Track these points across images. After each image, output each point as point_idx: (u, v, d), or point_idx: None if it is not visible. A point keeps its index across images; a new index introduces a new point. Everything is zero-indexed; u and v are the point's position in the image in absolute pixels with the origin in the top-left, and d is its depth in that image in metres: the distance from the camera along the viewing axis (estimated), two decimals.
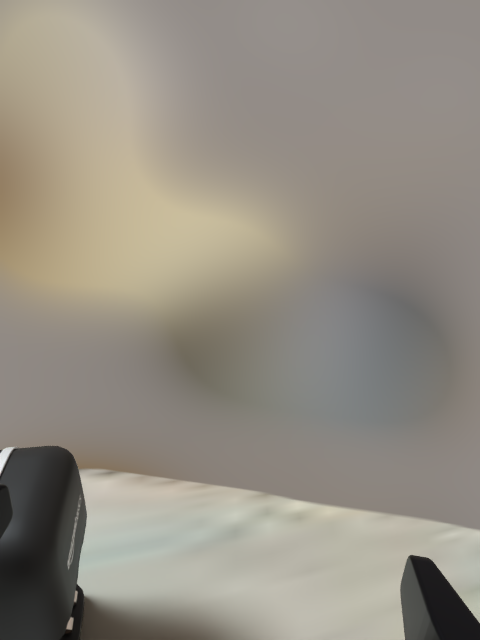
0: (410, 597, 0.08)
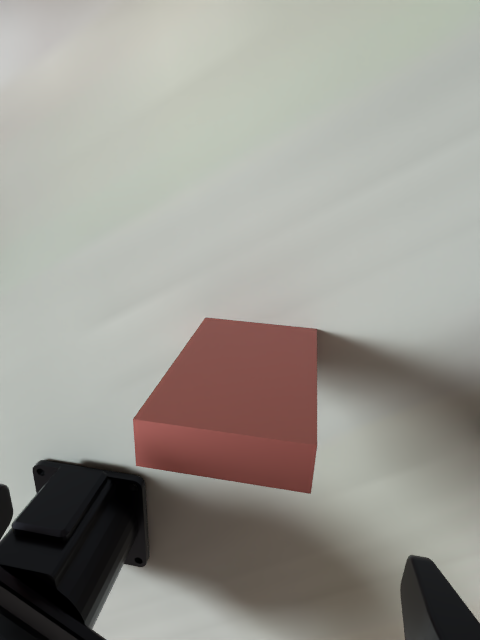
0: (410, 597, 0.08)
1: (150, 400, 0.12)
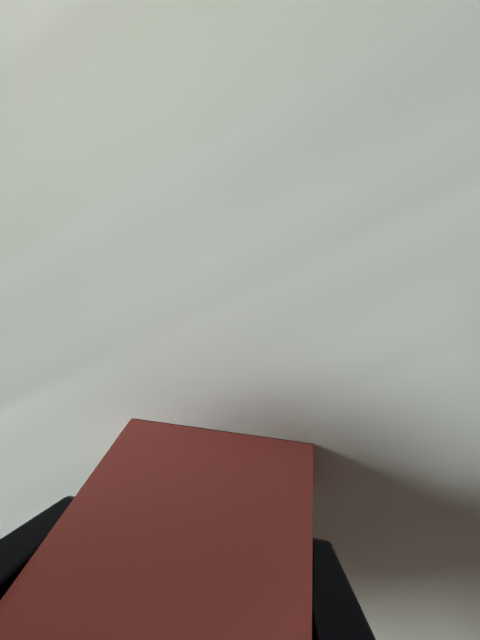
0: None
1: None
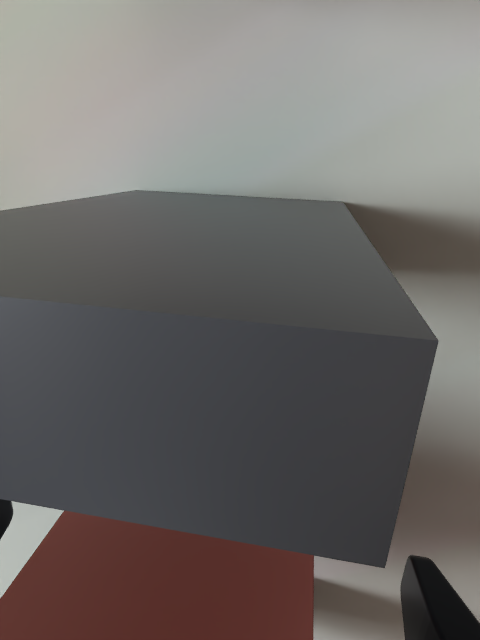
0: (410, 597, 0.08)
1: None
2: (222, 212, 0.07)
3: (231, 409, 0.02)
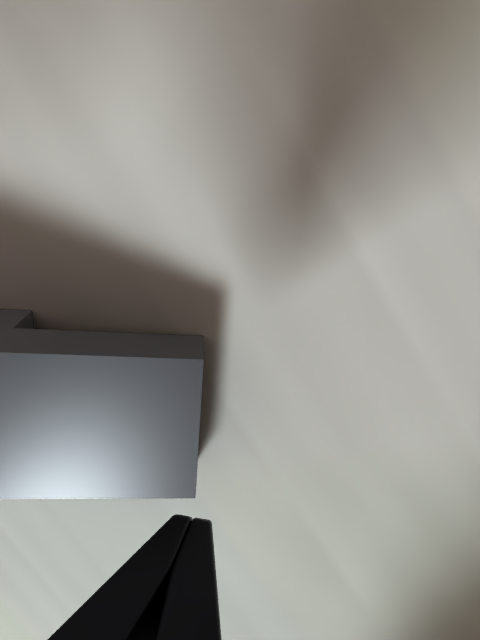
0: None
1: None
2: None
3: None
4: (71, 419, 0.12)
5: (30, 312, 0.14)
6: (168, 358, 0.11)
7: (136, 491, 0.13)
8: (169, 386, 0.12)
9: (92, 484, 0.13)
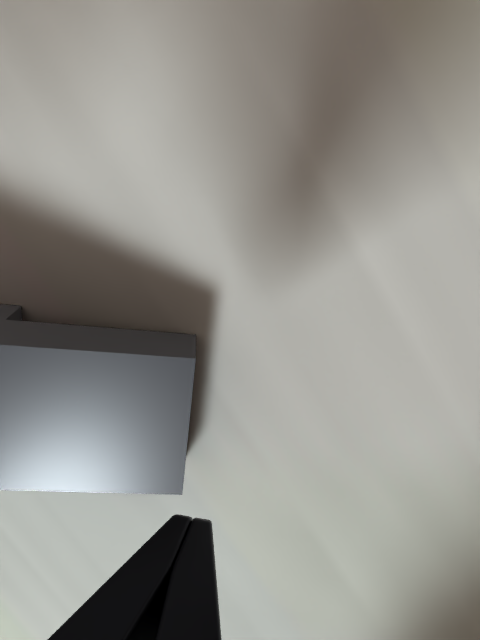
0: None
1: None
2: None
3: None
4: (62, 412, 0.12)
5: (19, 307, 0.14)
6: (160, 356, 0.11)
7: (123, 486, 0.13)
8: (160, 383, 0.12)
9: (80, 478, 0.13)
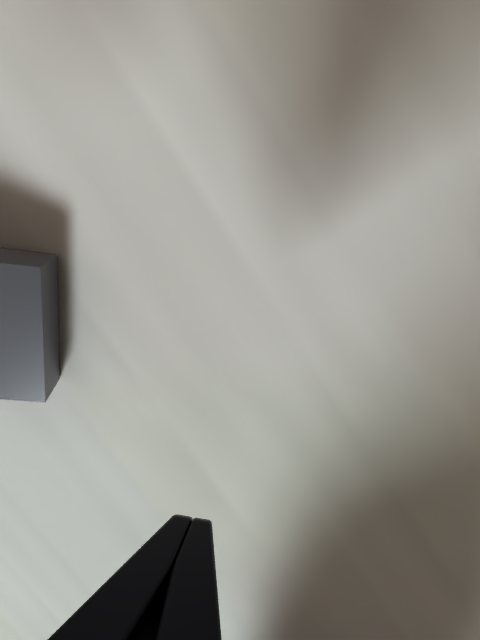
0: None
1: None
2: None
3: None
4: None
5: None
6: (7, 264, 0.13)
7: None
8: (10, 291, 0.13)
9: None
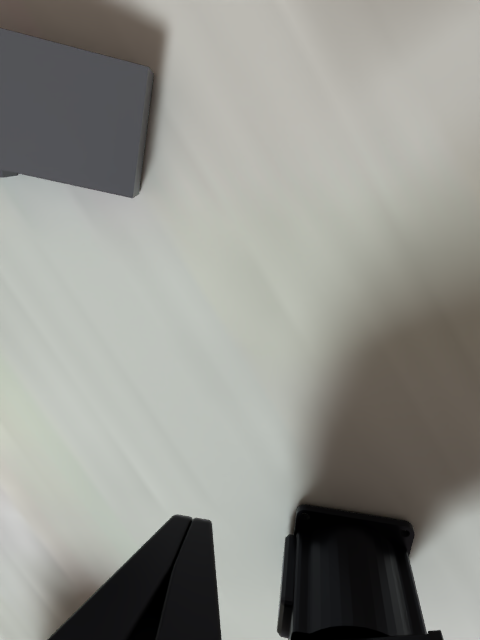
0: None
1: None
2: None
3: None
4: (48, 101, 0.16)
5: None
6: (123, 60, 0.16)
7: (89, 181, 0.17)
8: (121, 86, 0.16)
9: (57, 167, 0.17)
